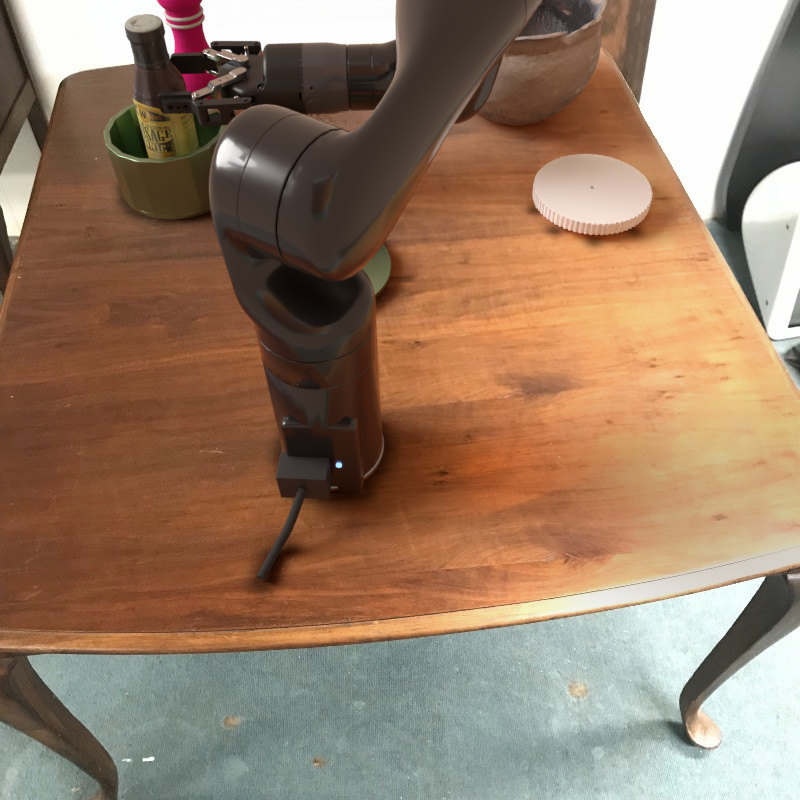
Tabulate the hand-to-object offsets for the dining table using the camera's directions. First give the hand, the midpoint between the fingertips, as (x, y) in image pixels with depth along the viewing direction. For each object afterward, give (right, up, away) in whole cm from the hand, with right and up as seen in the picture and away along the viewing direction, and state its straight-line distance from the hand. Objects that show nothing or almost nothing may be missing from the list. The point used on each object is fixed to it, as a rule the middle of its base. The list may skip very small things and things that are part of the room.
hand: (165, 83), depth 88 cm
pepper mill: (-1, +5, +22) cm, 23 cm away
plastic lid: (+50, -12, +7) cm, 52 cm away
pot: (-1, -8, +11) cm, 14 cm away
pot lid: (+18, -21, -1) cm, 28 cm away
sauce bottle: (-1, -8, +10) cm, 13 cm away
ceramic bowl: (+42, +5, +21) cm, 47 cm away
